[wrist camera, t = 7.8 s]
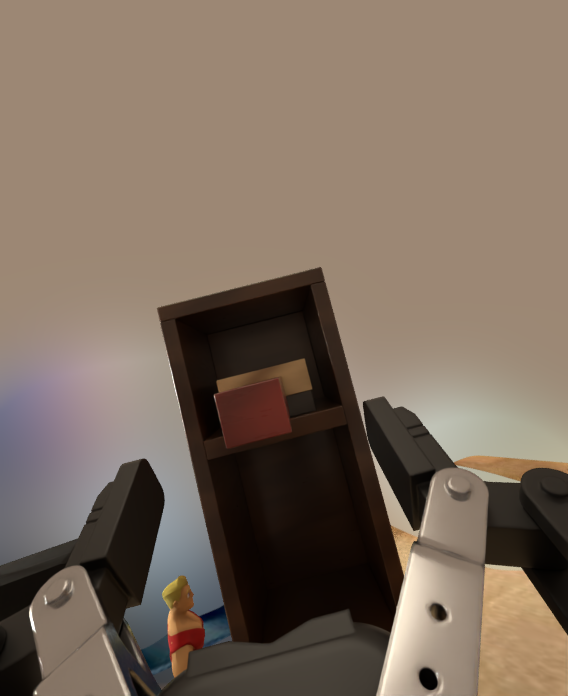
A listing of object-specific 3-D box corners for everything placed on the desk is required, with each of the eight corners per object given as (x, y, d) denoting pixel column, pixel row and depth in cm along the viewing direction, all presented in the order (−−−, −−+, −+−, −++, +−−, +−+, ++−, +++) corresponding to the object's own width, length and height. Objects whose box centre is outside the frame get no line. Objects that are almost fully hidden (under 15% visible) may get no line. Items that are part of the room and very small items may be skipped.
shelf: (306, 968, 19) (156, 307, 22) (299, 769, 28) (195, 327, 31) (495, 914, 19) (321, 266, 22) (424, 734, 28) (309, 298, 31)
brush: (181, 483, 12) (159, 386, 12) (242, 418, 29) (233, 378, 30) (346, 440, 12) (321, 345, 12) (309, 401, 29) (299, 362, 30)
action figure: (236, 766, 30) (197, 593, 31) (195, 794, 28) (156, 612, 30) (218, 684, 38) (189, 551, 40) (187, 702, 37) (157, 564, 38)
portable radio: (150, 775, 31) (94, 501, 33) (144, 860, 25) (77, 522, 27) (51, 834, 28) (-4, 533, 30) (20, 944, 22) (-46, 564, 24)
